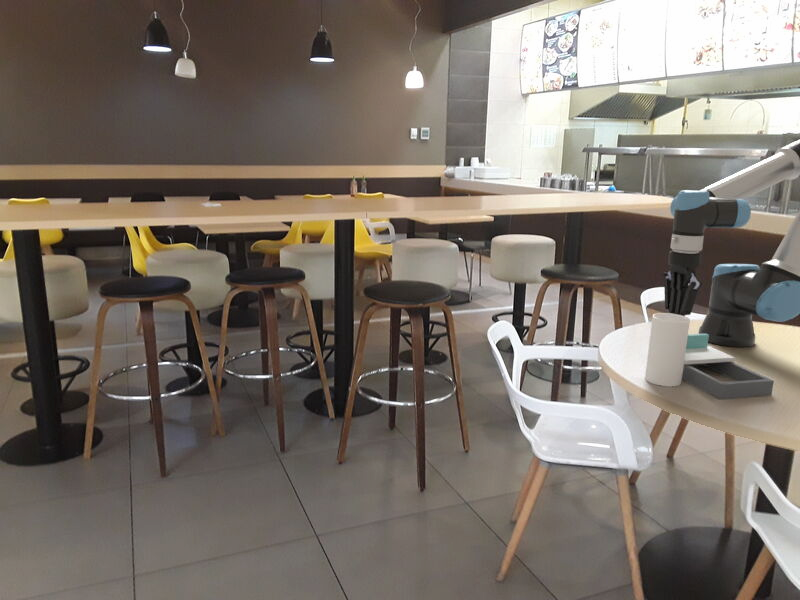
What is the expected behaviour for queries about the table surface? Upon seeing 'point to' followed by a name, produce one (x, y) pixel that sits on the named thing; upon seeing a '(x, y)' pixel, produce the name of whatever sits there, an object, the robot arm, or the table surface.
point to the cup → (667, 349)
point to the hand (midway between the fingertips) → (673, 337)
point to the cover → (703, 351)
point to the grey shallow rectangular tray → (744, 385)
